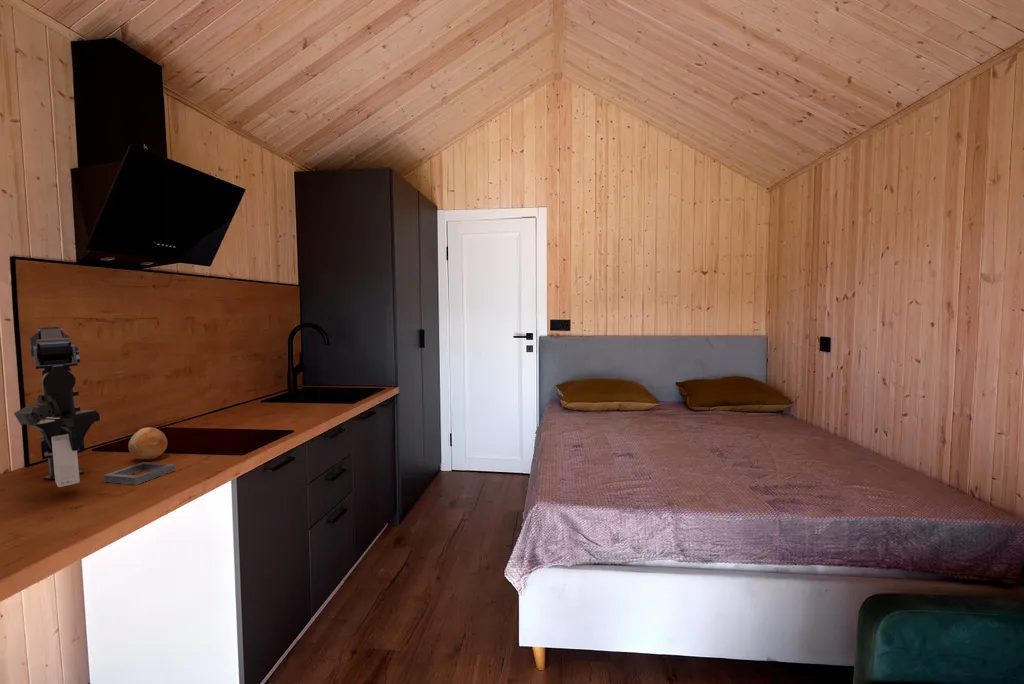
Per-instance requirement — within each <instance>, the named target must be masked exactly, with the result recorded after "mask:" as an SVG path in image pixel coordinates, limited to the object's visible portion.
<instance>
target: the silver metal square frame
mask: <svg viewBox="0 0 1024 684" xmlns="http://www.w3.org/2000/svg"><path fill="white" fill-rule="evenodd" d="M141 470H152V471H147V472H146V471H145V472H144V473H141V474H138V475H134V474H132V473H135V472H138V471H141ZM174 470H175V471H176V464H175V463H167V462H166V463H163V462H153V461H151V462H150V461H142V462H140V463H136V464H134V465H130V466H127V467H124V468H121V469H118V470H115V471H112V472H109V473H106V474H103V475H102V476H103V477H102V478H103V482H104V483H105V482H111V483H110V484H116V483H121V484H120V485H127V484H135V485H134V486H138V485H137V484H139V485H141V484H140V483H142V482H144V483H146V482H145V481H147V482H149V481H148V480H150V479H152V480H154V479H153V478H155V479H157V478H156V477H158V476H160V477H162V476H161V475H163V474H166V473H169V472H171V471H174ZM175 471H174V472H175ZM141 472H142V471H141ZM138 473H139V472H138ZM171 473H172V472H171ZM130 474H132V475H130ZM135 474H136V473H135ZM169 474H170V473H169ZM166 475H167V474H166ZM163 476H164V475H163ZM158 478H159V477H158ZM150 481H151V480H150ZM142 484H143V483H142Z"/></svg>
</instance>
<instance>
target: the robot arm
mask: <svg viewBox="0 0 1024 684" xmlns="http://www.w3.org/2000/svg"><path fill="white" fill-rule="evenodd" d="M29 345H30V346H29V347H30V355H31V358H34V367H35V370H41V372H40V376H41V385H42V387H41V388H42V394H38V396H37V402H34V403H31V404H29V405H27V406H25V407H23V408H21V409H19V410H17V411H15V412H14V413H13V414H14V416H15V418H16V419H17V421H18V423H19V425H20V426H23V425H27V426H29V427H32V428H34V429H37V430H38V431H39V432H40V433H41V434H42V436H43V437H39V441H40V452H41V460H47V463H48V464H47V465H48V471H49V473H48V475H45V476H43V478H46V479H45V480H53V479H55V474H54V462H53V451H52V438H51V437H53V436H60V435H66V434H68V436H69V440H70V445H71V448H72V451H77V454H81V453H84V452H85V450H86V449H85V436H86V435H87V433H88V431H89V429H91V426H92V425H93V424H95V422H100V421H101V420H102V416H101V412H100V411H98V410H97V409H84V410H81V407H80V406H76V399H75V397H76V396H79V395H80V394H79V393H80V392H79V391H77V390H75V385H76V377H75V375H74V374H73V369H71V368H70V367H78V365H79V363H81V358H80V352H79V347H78V346H76V343H75V342H72V341H71V338H70V336H69V335H68V334H66V333H65V332H63V327H62V326H61V327H59V326H42V327H41V326H40V327H38V328H37V332H36V333H35V334H34V335H32V336H31V337H30V338H29ZM83 472H84V473H85V470H81V469H79V475H81V474H83ZM80 473H81V474H80ZM43 478H42V479H43Z"/></svg>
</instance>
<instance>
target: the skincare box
mask: <svg viewBox="0 0 1024 684" xmlns="http://www.w3.org/2000/svg"><path fill="white" fill-rule="evenodd" d="M51 438H52V451H53V462H54V474H55V480H54V482H55V484H56V485H57V488H62V487H66V486H71V485H75V484H79V483H81V481H80V474H79V470H80V468H79V459H78V457H79V456H78V453H77V451H72V448H71V445H70V440H69V436H68V434H66V435H60V436H53V437H51Z"/></svg>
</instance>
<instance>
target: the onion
mask: <svg viewBox="0 0 1024 684" xmlns="http://www.w3.org/2000/svg"><path fill="white" fill-rule="evenodd" d="M167 447H168V438H167V436H166V435H165V433H164V432H163V431H161V430H160V429H157V428H155V427H143V428H141V429H139V430H138V431H136V432H135V433H134V434H132V437H131V438H130V440H129V441H128V450H129V452H130V454H131V455H132V456H133V457H134V458H136V459H137V460H155V459H157V458H158V457H160V456H161V455H162V454H163V453H164V452H166V449H167Z"/></svg>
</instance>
